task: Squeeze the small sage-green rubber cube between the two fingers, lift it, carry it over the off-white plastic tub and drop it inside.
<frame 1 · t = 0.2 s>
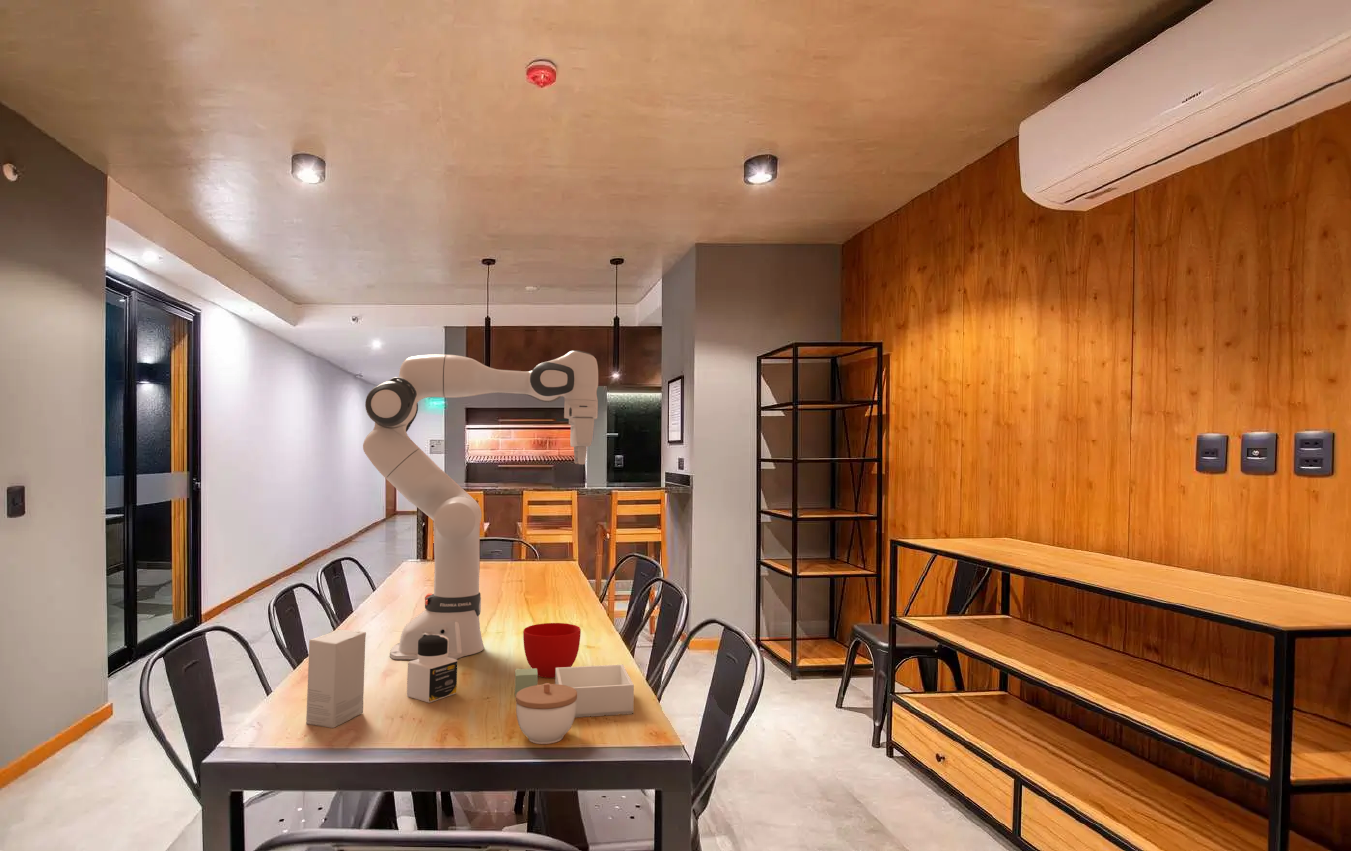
hand: (579, 464, 193), 48 cm above the table, tool pointing down, fingers open, 8 cm apart
tub: (592, 703, 146), on the table
ceramic cup: (551, 671, 168), on the table
lidded jar: (545, 738, 128), on the table
skincare box: (335, 720, 136), on the table
sage cube: (525, 693, 152), on the table
medicine bottle: (431, 696, 150), on the table
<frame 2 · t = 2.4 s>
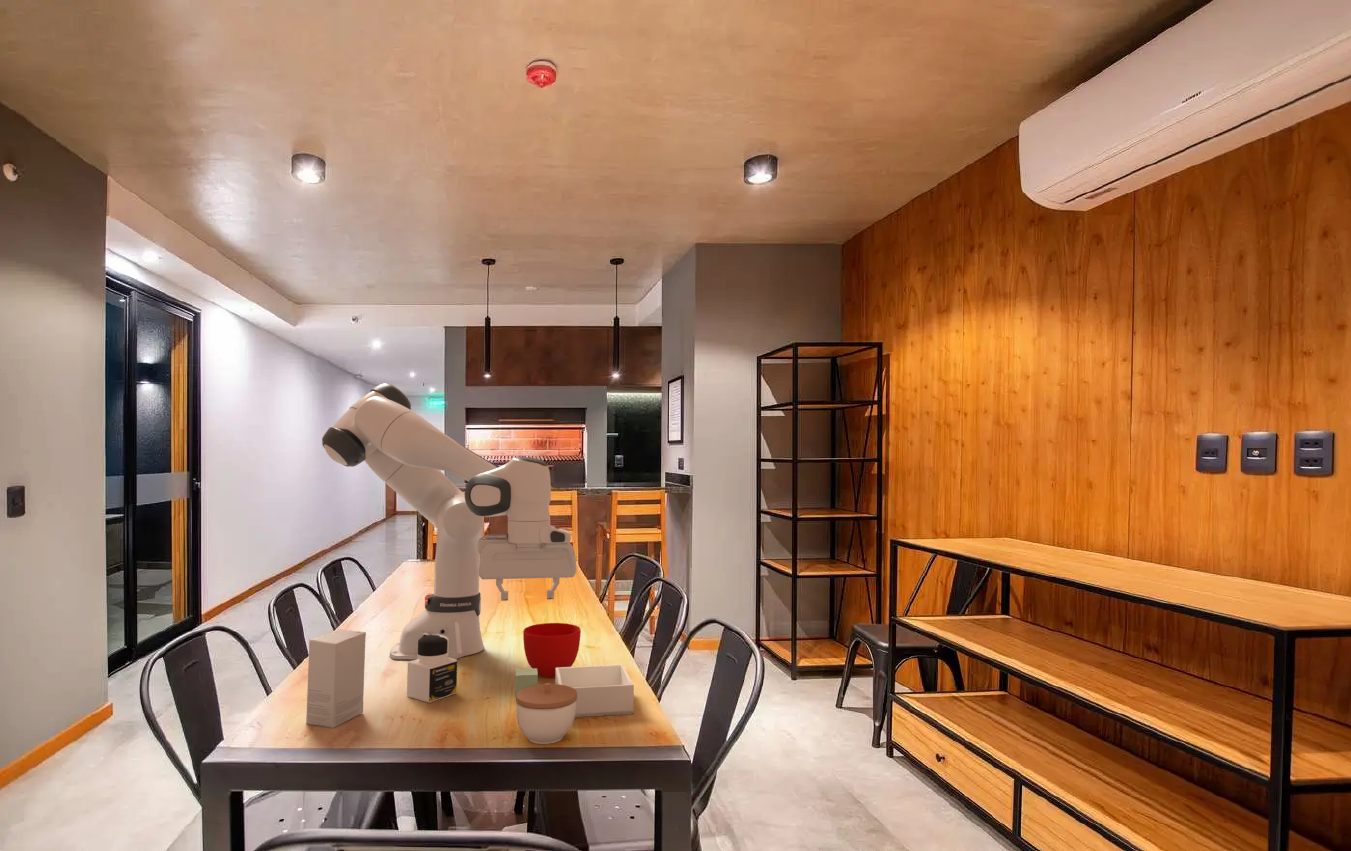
hand: (527, 599, 153), 19 cm above the table, tool pointing down, fingers open, 8 cm apart
nothing on the table moved.
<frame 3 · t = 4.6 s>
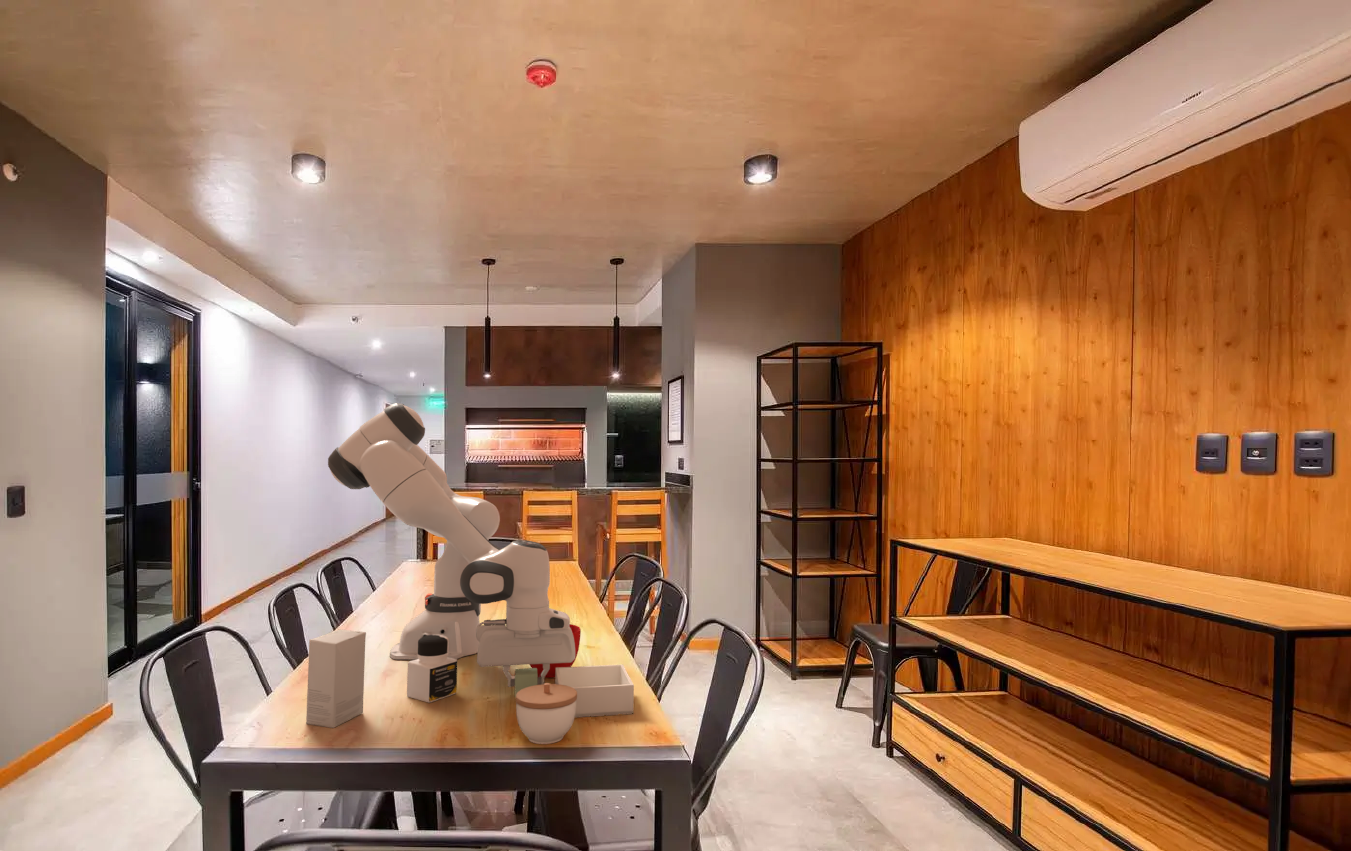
hand: (526, 685, 152), 2 cm above the table, tool pointing down, fingers closed on sage cube, 4 cm apart
sage cube: (525, 693, 152), on the table, touching gripper
everything else where it was.
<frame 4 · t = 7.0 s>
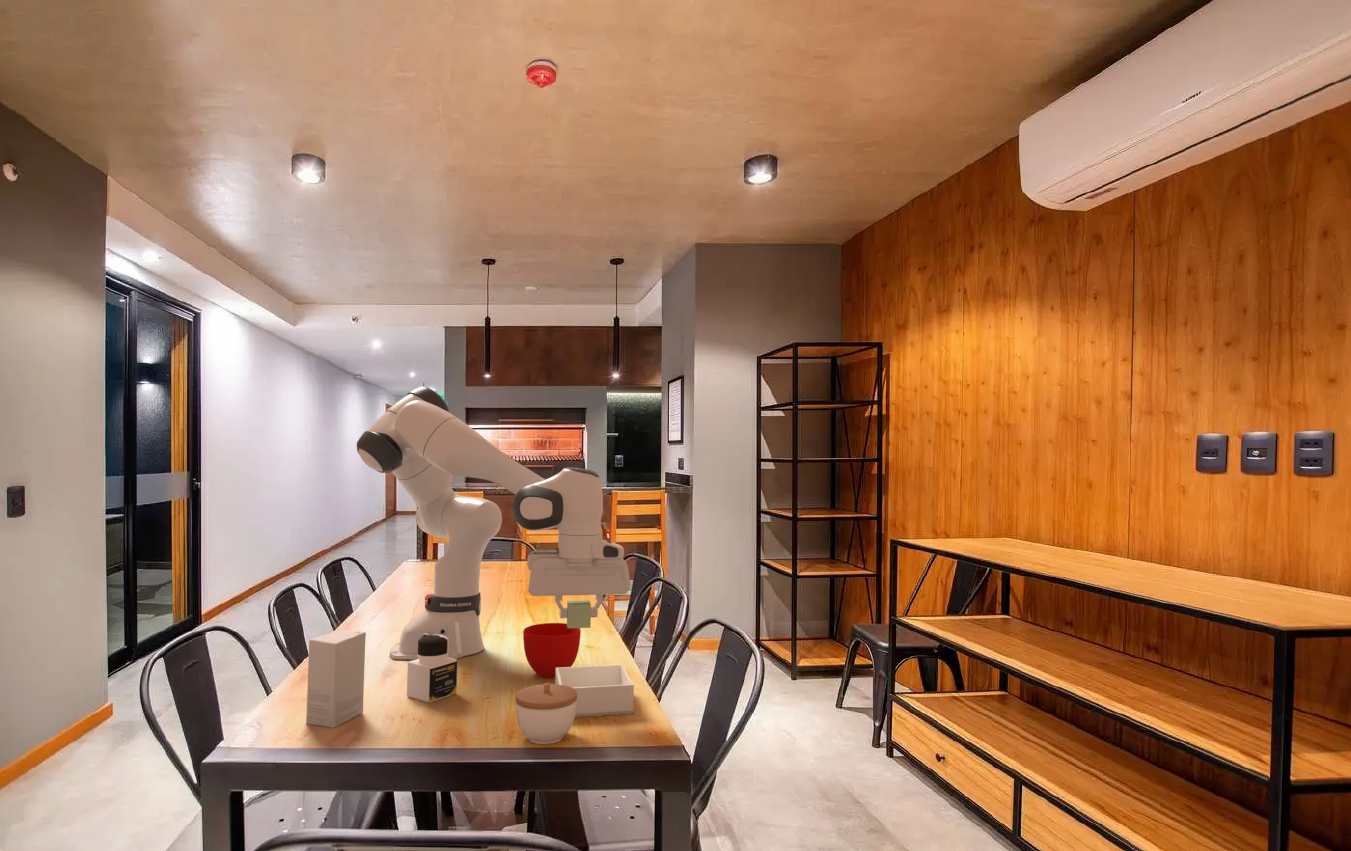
hand: (578, 617, 146), 17 cm above the table, tool pointing down, fingers closed on sage cube, 4 cm apart
sage cube: (578, 625, 146), point 16 cm above the table, touching gripper
everything else where it was.
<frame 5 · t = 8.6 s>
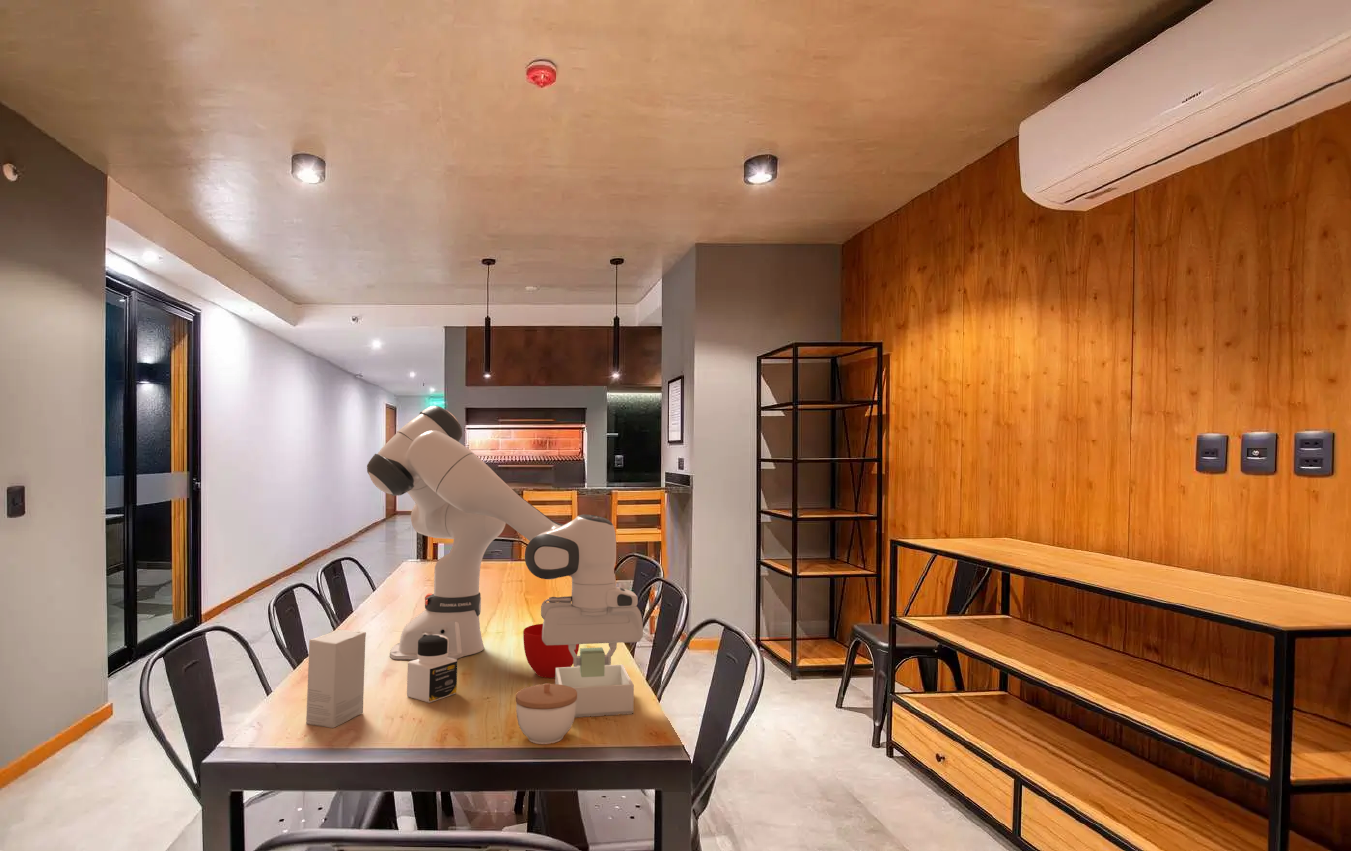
hand: (592, 665, 146), 8 cm above the table, tool pointing down, fingers closed on sage cube, 4 cm apart
sage cube: (591, 673, 146), point 6 cm above the table, touching gripper
everything else where it was.
when the fingers open (5 cm above the table, at t = 9.5 s): sage cube drops 2 cm, resting on tub.
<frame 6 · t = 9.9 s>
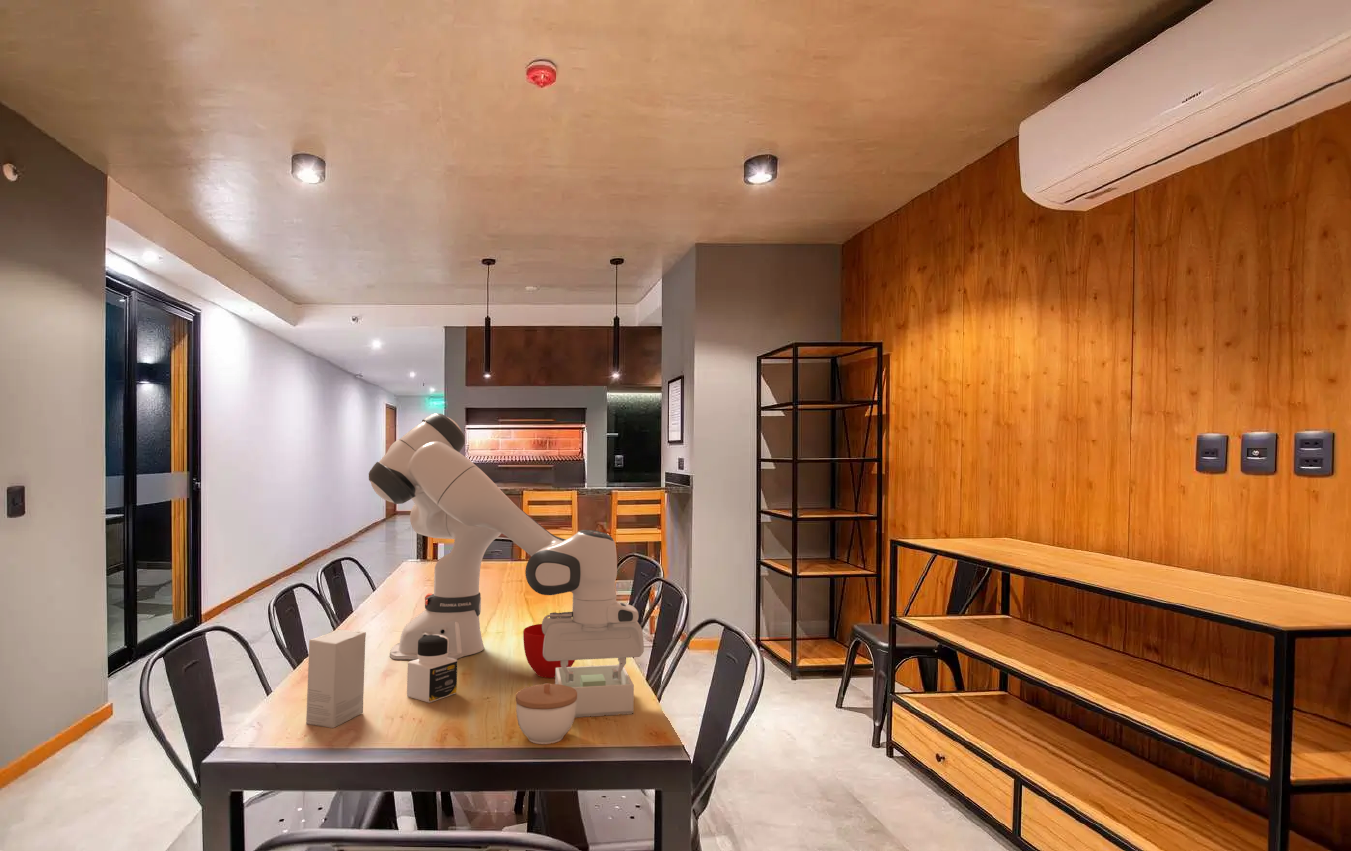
hand: (592, 680, 146), 5 cm above the table, tool pointing down, fingers open, 8 cm apart
sage cube: (592, 700, 146), point 1 cm above the table, touching tub
everything else where it was.
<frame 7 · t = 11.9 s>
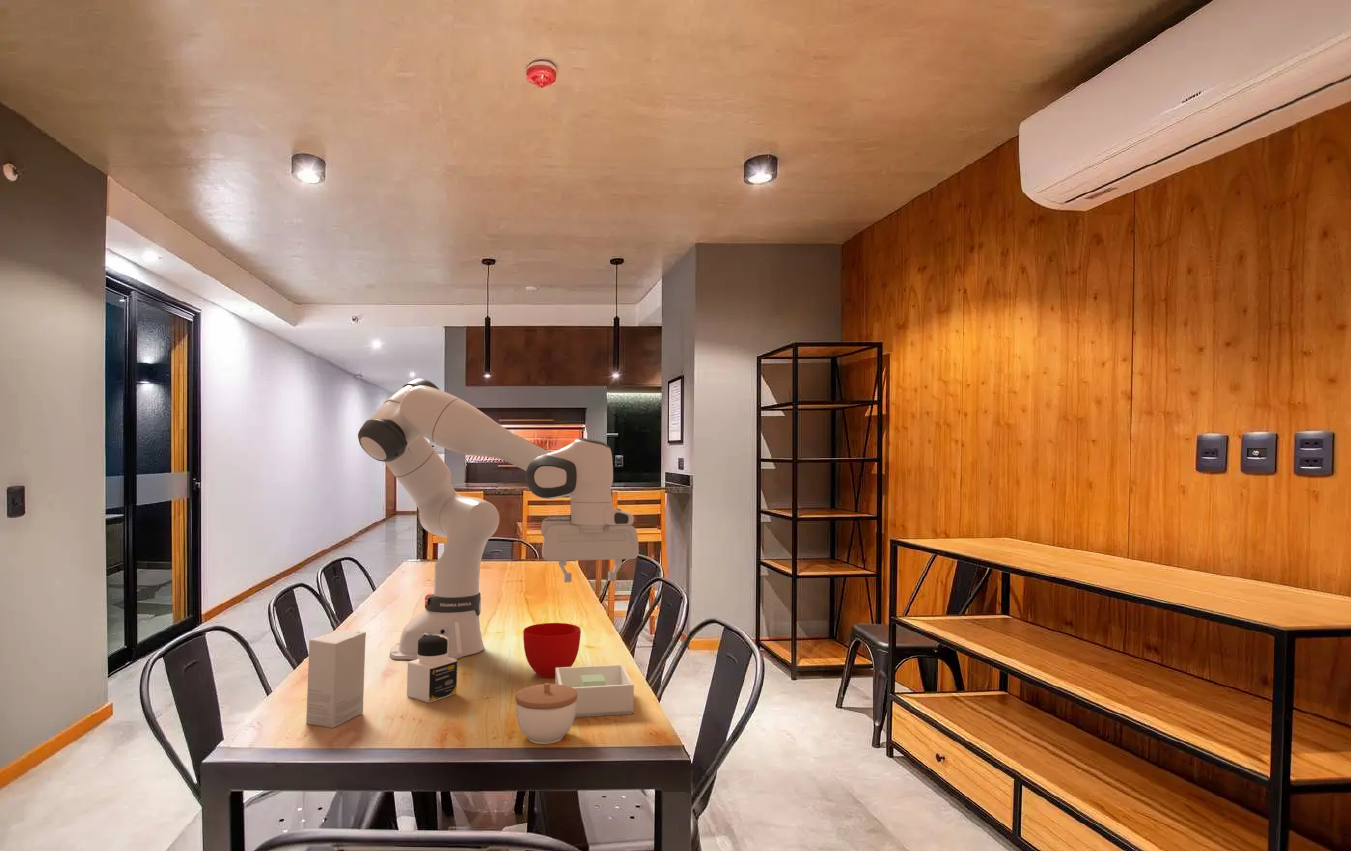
hand: (590, 581, 153), 23 cm above the table, tool pointing down, fingers open, 8 cm apart
nothing on the table moved.
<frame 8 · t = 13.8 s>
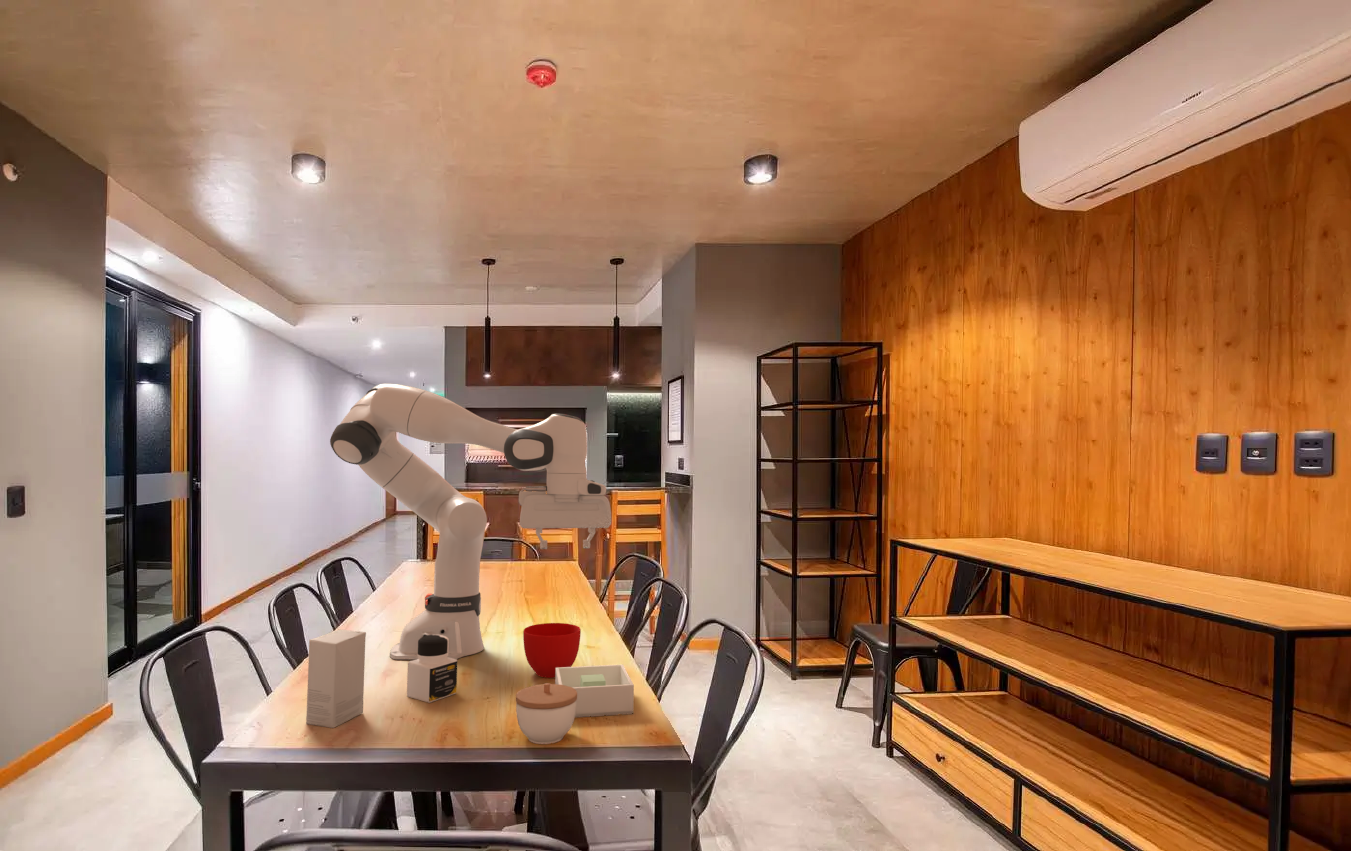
hand: (565, 548, 162), 29 cm above the table, tool pointing down, fingers open, 8 cm apart
nothing on the table moved.
at the end: sage cube inside the target area on the tub (0.1 cm from its centre), point 0.6 cm above the tub's base; the gripper is holding nothing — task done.
